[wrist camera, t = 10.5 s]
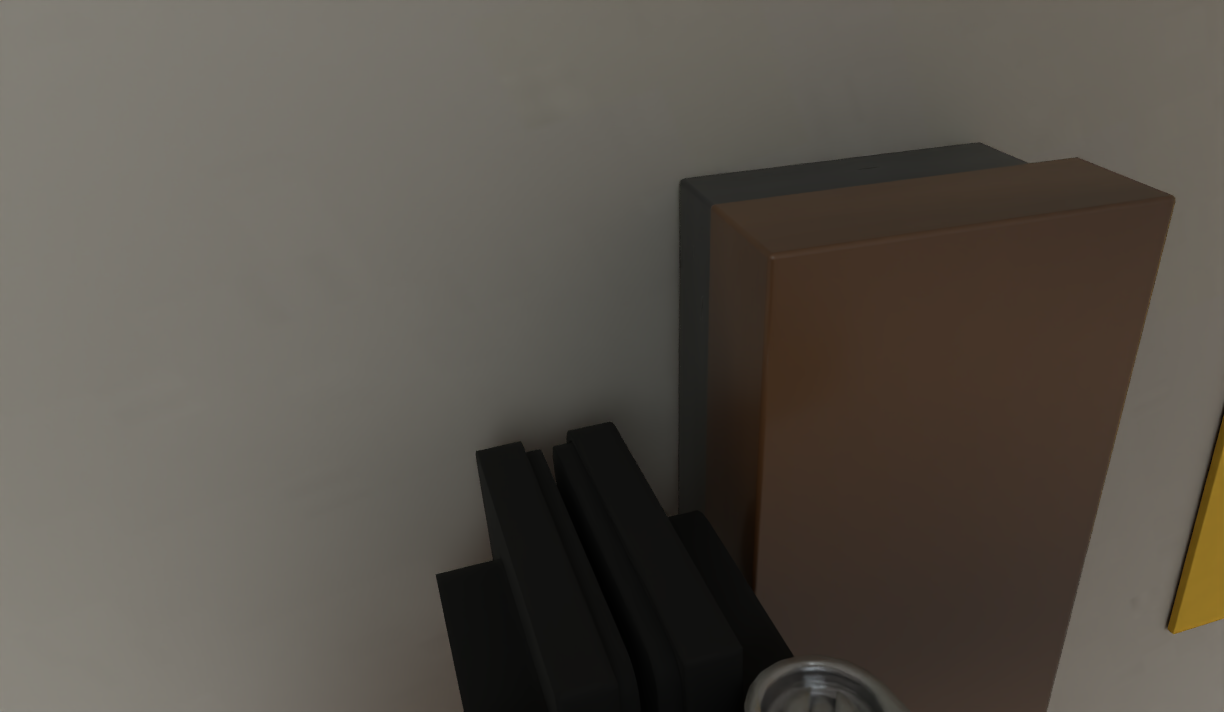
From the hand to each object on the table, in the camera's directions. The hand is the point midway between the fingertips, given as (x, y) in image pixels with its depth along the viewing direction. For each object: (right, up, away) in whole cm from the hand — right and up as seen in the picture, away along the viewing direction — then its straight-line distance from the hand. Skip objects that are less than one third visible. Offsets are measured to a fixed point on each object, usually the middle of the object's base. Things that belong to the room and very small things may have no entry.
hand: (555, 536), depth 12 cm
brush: (+4, +1, +2) cm, 4 cm away
